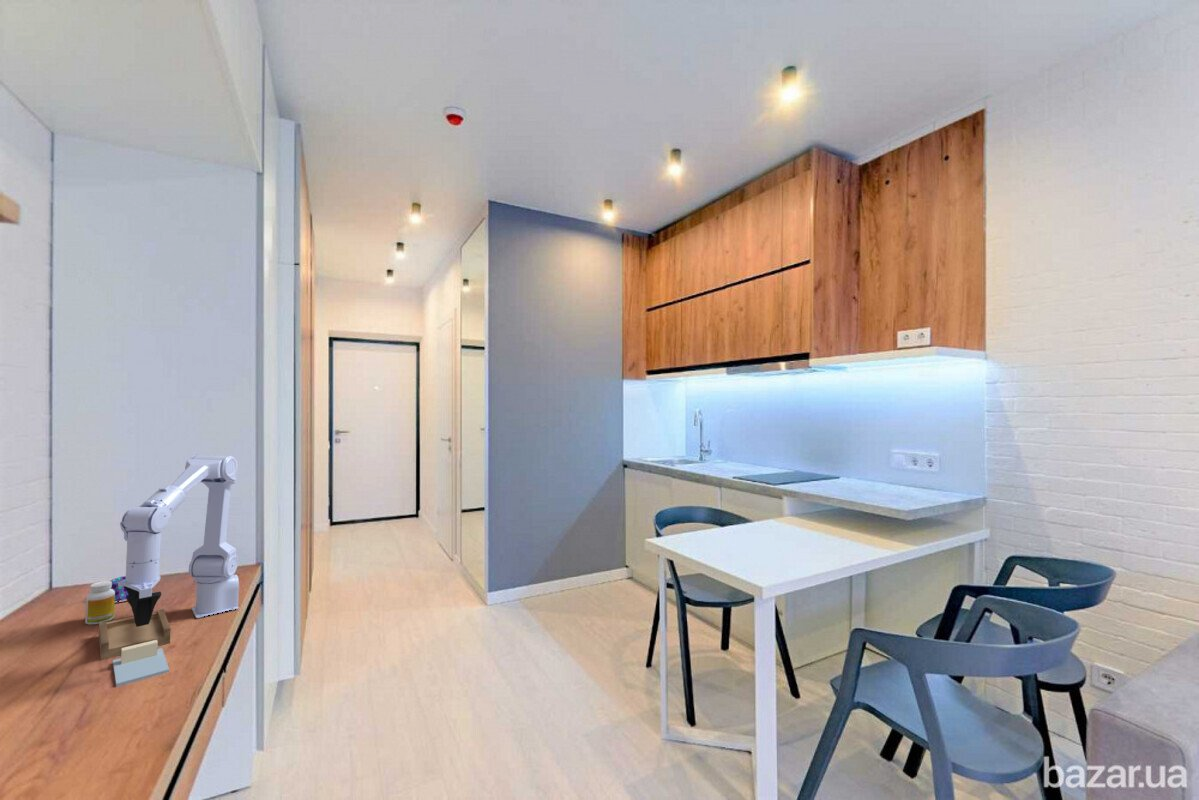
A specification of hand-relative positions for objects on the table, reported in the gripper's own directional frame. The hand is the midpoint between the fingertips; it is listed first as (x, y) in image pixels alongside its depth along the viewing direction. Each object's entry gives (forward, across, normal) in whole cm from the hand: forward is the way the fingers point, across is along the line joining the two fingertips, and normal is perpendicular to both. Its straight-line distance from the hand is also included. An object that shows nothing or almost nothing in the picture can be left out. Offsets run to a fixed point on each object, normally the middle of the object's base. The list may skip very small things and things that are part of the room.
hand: (140, 618), depth 114 cm
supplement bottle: (+10, -31, -6) cm, 33 cm away
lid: (+10, +3, 0) cm, 11 cm away
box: (+10, -13, 0) cm, 16 cm away
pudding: (+10, -47, 0) cm, 48 cm away
